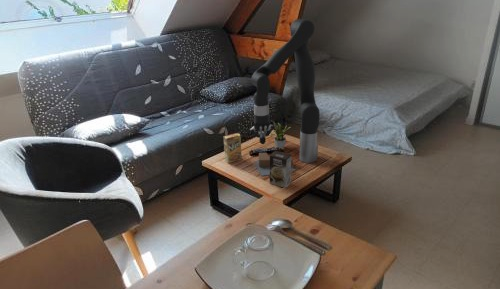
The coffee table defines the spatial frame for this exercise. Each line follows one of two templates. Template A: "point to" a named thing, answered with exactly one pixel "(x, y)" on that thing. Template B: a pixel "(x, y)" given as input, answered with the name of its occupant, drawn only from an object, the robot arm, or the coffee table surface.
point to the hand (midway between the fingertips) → (262, 143)
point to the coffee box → (280, 168)
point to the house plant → (279, 136)
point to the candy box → (232, 147)
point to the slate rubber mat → (266, 169)
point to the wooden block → (266, 160)
